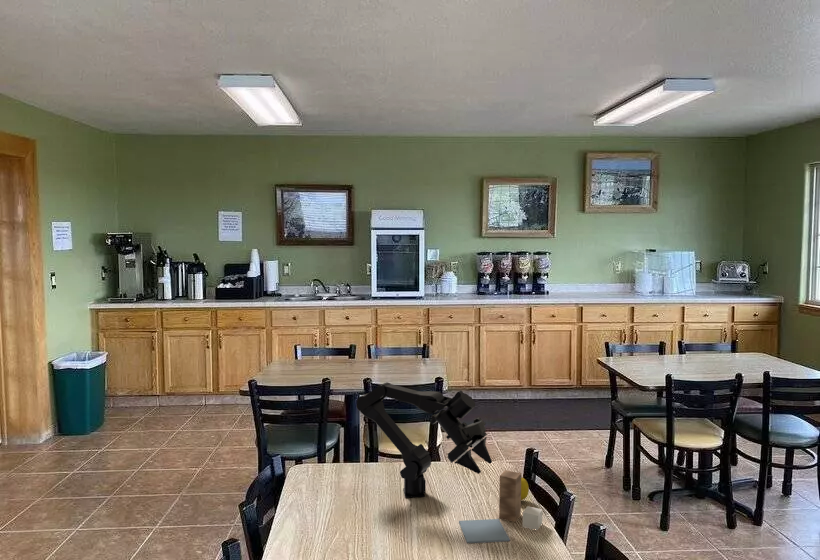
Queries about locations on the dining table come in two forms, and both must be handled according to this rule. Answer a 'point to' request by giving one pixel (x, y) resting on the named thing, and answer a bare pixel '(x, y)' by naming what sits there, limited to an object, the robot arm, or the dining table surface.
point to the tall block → (510, 496)
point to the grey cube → (532, 518)
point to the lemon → (524, 488)
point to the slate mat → (483, 531)
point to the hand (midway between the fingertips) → (485, 467)
